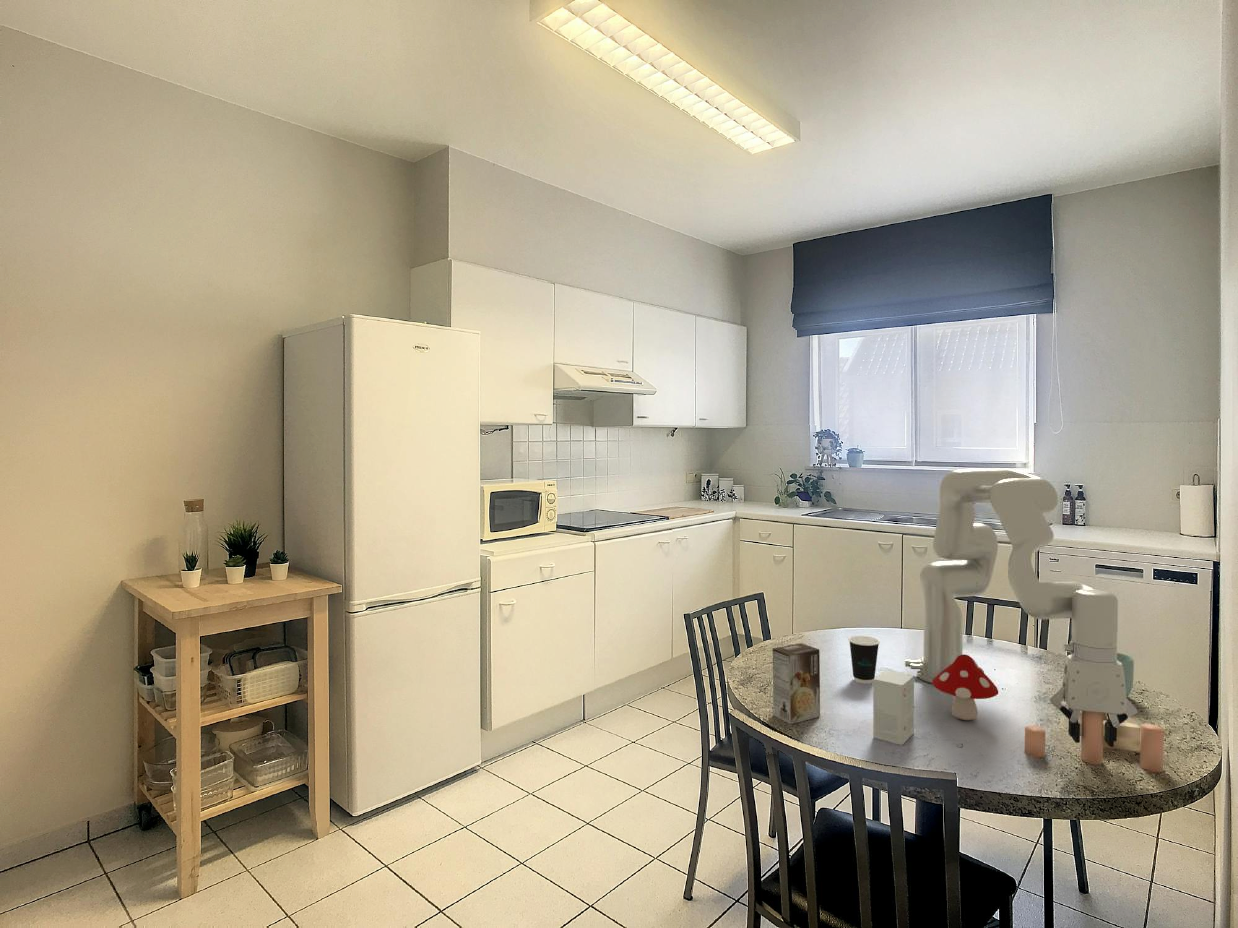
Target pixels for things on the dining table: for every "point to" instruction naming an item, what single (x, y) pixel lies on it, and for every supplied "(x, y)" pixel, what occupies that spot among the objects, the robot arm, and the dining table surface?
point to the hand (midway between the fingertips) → (1092, 741)
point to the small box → (893, 706)
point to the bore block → (1122, 735)
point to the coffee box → (796, 683)
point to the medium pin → (1151, 748)
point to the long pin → (1092, 737)
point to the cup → (1127, 671)
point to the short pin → (1035, 741)
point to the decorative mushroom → (965, 686)
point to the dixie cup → (864, 658)
